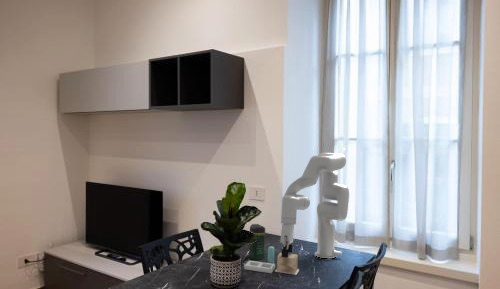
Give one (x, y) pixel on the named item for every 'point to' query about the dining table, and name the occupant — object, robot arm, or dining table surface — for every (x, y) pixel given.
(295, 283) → the dining table surface
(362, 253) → the dining table surface
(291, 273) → the card
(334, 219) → the robot arm
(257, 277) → the dining table surface
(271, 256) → the pin
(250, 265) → the socket board
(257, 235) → the coffee jar
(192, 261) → the dining table surface
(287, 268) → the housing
